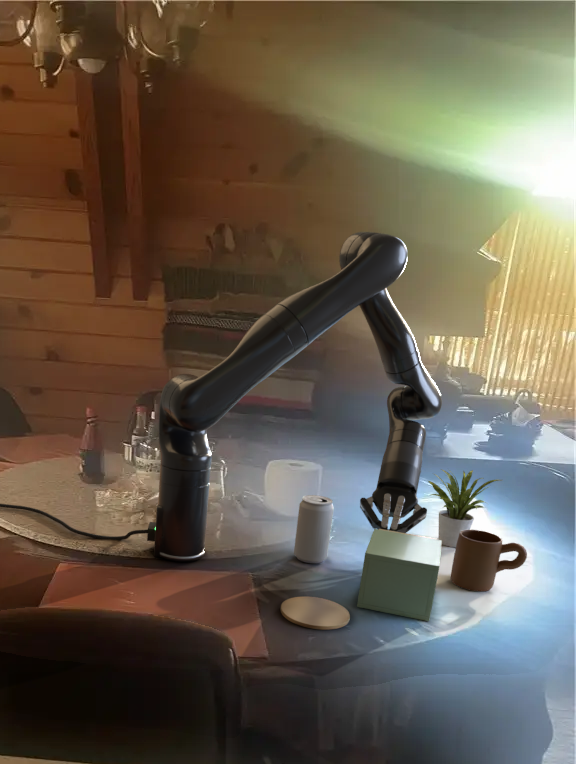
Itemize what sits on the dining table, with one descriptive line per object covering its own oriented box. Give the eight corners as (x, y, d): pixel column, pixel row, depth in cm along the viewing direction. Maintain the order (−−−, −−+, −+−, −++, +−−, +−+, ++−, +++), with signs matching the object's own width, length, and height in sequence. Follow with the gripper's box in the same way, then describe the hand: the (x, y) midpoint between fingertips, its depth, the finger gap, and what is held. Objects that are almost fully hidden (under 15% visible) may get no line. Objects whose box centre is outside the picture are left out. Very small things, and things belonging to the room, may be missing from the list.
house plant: (475, 533, 168) (490, 462, 163) (502, 556, 155) (518, 479, 150) (412, 529, 167) (425, 458, 162) (433, 552, 154) (448, 474, 149)
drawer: (373, 566, 141) (379, 526, 139) (430, 576, 138) (438, 536, 136) (364, 592, 129) (371, 549, 127) (427, 605, 126) (435, 561, 124)
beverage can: (326, 566, 142) (334, 505, 138) (291, 562, 143) (299, 501, 139) (327, 555, 148) (335, 496, 144) (294, 550, 149) (301, 492, 145)
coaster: (283, 626, 116) (283, 623, 116) (278, 597, 127) (278, 593, 126) (354, 632, 116) (355, 629, 116) (343, 602, 126) (344, 599, 126)
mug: (517, 585, 140) (527, 537, 137) (520, 600, 133) (531, 550, 130) (449, 573, 143) (458, 526, 140) (449, 587, 136) (458, 538, 133)
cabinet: (366, 578, 138) (374, 528, 135) (432, 591, 134) (441, 540, 131) (356, 606, 125) (365, 552, 122) (429, 621, 122) (439, 566, 119)
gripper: (366, 454, 145) (348, 533, 138) (437, 465, 141) (423, 546, 134) (365, 475, 152) (348, 551, 144) (433, 485, 148) (420, 564, 140)
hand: (384, 549), depth 139 cm, fingers closed
